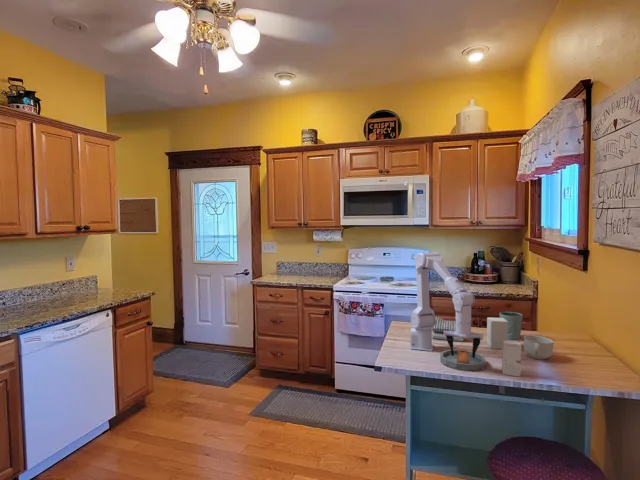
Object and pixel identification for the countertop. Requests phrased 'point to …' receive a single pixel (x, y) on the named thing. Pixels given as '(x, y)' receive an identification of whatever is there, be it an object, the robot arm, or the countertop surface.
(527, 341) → the teacup
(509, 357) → the skincare box
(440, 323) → the towel
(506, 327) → the supplement box
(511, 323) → the green plant pot
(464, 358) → the bead
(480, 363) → the groove tray
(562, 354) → the countertop surface
